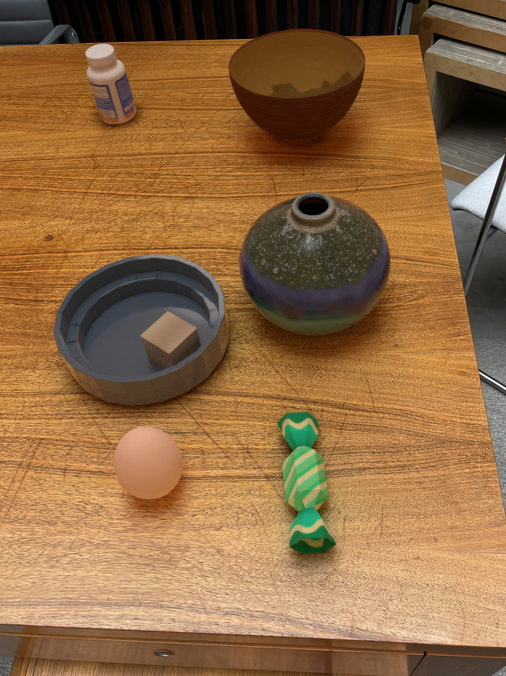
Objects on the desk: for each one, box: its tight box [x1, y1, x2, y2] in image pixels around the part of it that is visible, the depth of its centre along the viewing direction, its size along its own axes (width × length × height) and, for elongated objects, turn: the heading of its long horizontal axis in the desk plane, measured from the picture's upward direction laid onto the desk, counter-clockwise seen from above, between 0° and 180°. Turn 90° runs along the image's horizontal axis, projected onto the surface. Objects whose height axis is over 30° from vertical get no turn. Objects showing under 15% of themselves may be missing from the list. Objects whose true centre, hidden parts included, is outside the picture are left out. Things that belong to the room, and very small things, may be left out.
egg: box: [112, 426, 184, 500], centre depth 55 cm, size 6×6×8 cm
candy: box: [276, 411, 337, 555], centre depth 55 cm, size 12×3×4 cm
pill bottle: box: [85, 43, 137, 125], centre depth 91 cm, size 5×5×10 cm
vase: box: [238, 191, 391, 337], centre depth 64 cm, size 15×15×13 cm
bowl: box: [227, 28, 366, 145], centre depth 86 cm, size 18×18×10 cm
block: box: [140, 311, 201, 370], centre depth 64 cm, size 4×4×4 cm
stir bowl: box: [53, 253, 230, 406], centre depth 66 cm, size 17×17×4 cm
